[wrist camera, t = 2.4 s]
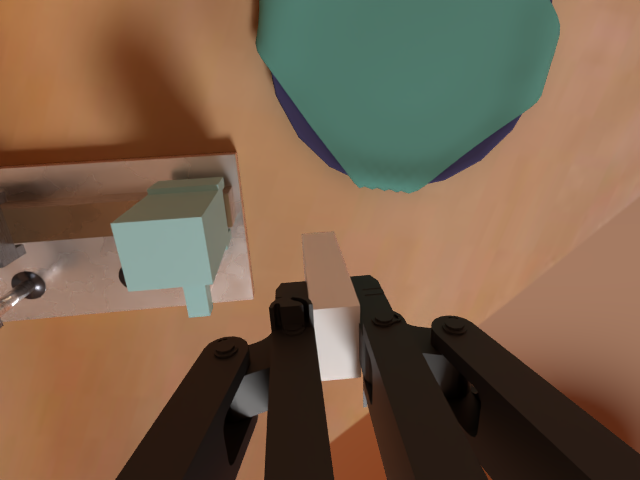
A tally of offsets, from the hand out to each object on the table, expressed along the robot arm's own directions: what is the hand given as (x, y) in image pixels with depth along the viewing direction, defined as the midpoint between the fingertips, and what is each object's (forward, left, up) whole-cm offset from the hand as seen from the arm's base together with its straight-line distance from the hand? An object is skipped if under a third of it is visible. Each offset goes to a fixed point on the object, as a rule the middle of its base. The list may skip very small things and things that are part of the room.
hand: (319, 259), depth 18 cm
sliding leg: (-8, -2, -12) cm, 14 cm away
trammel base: (-15, -3, -13) cm, 20 cm away
